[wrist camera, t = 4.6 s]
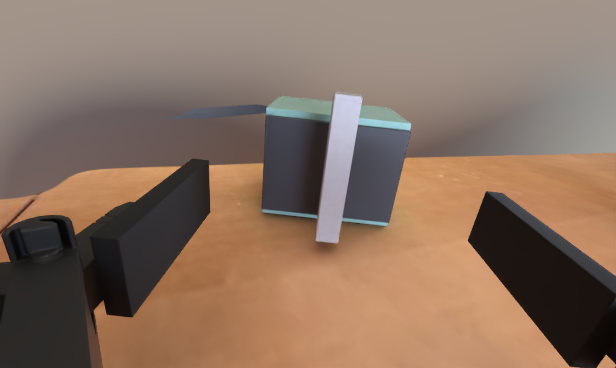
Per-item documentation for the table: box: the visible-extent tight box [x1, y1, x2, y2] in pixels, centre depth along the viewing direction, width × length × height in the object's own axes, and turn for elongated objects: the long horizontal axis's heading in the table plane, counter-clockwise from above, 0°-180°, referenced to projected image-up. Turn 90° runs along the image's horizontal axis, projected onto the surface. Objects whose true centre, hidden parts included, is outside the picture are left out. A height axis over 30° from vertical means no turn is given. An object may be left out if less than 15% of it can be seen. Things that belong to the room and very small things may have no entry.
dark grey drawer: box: [262, 91, 411, 243], centre depth 24 cm, size 12×11×10 cm
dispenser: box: [262, 96, 411, 226], centre depth 28 cm, size 8×11×9 cm
